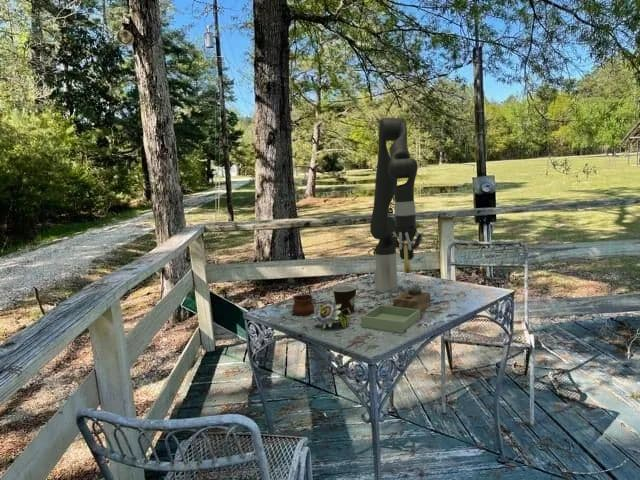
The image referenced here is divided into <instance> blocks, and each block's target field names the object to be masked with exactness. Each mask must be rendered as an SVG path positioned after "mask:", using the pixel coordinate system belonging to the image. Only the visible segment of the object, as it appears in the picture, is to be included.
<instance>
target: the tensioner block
mask: <svg viewBox="0 0 640 480" xmlns="http://www.w3.org/2000/svg"><path fill="white" fill-rule="evenodd" d="M431 303H432V301H431V292H424V291H423V292H422V288H421V287H420V286H418V285H416V286H409V287H408V289H407V290H405V291H403V292H402V293H400V294H399V295H397V296H395V297H394V298H392V304H393V305H392V306H394V307H402V308H410V309H418V310H420V314H422V313H423V312H424V311H426V309H428V308H429V307H431V306H432V304H431Z"/></svg>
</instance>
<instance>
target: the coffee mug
mask: <svg viewBox="0 0 640 480" xmlns="http://www.w3.org/2000/svg"><path fill="white" fill-rule="evenodd" d="M332 291H333V297H334V302H335V305H337V304H341V307H340V308H339V309H338V310H339V311H341V312H342V313H343V314H345V315H346V316H348V314H349V312H348V310H347V309H346V308H348V309H349V311H350V314H351V313H354V311H355V299H356V295H357V294H356V293H357V289H356V287H355V286H351V285H340V286H336V287H333V288H332ZM344 309H345V310H344ZM342 310H343V311H342ZM350 314H349V315H350Z"/></svg>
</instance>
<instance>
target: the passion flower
mask: <svg viewBox="0 0 640 480" xmlns="http://www.w3.org/2000/svg"><path fill="white" fill-rule="evenodd" d="M334 302H335V298H333V297H332V298H331V299H330V300H329V301H324V302H322V303H321V304H320V306H318V310H317V311H316V312H315V314H314V315H313V316H312V319H314V320H315V319H316V320H318V321H319V323H318V326H321V327H322V329H323V330H325V329H326V328H327V326H328V327H329V328H332V327H333V325H334V324H333V323H334V320H335V322H336V323H339V322H340V324H341V327H342V328H343V329H346V328H347V324H348V325H350V318H349V317H348V315H345V314H343V313H342V312H341V311H339V310H338V309H339V308H340V307H341V304H337V305H336V304H334ZM346 309H347V310H348V312H349V315H350V314H351V313H350V311H349V309H348V308H346ZM344 310H345V309H344ZM342 311H343V310H342ZM338 320H339V322H338Z"/></svg>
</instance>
